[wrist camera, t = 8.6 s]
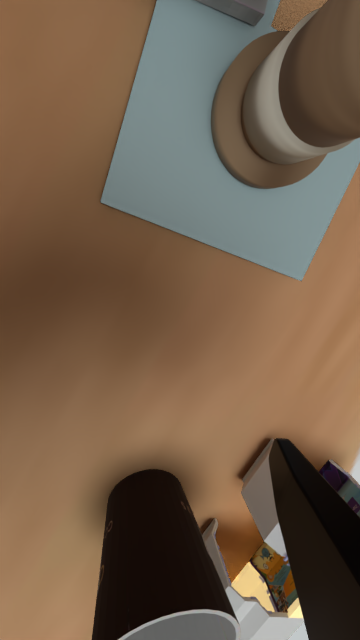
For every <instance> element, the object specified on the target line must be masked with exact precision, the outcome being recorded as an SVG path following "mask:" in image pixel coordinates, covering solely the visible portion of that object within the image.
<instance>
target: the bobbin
mask: <svg viewBox="0 0 360 640" xmlns="http://www.w3.org/2000/svg"><path fill="white" fill-rule="evenodd" d="M211 132H212V138H213V142H214V146H215V149H216V151H217V154H218V156H219V158H220V160H221V162H222V164H223V165H224V166H225V168H226V169H227V170H228V172H229V173H230V174H231V175H232V176H233V177H235V178H236V179H237V180H239V181H240V182H242V183H244V184H245V185H248V186H250V187H254V188H258V189H272V188H278V187H284V186H288V185H291V184H294V183H296V182H299V181H300V180H302V179H304V178H305V177H307V176H308V175H309V174H311V173H312V172H313V171H314V170H315V169H316V168H317V167H318V166H319V165H320V163H321V162H322V161H323V160H324V158H325V157H326V155H327V154H328V153H330V152H334V151H337V150H339V149H341V148H343V147H345V146H347V145H349V144H350V143H351V142H353V141H354V140H355V139H357V138H360V0H328V1H327V2H326V3H325V4H324V5H323V6H322V7H321V8H319V9H316V10H314V11H313V12H311V13H309V14H308V15H306V16H305V17H304V18H303V19H302V20H300V21H299V23H298V24H297V25H296V26H295V27H294V28H293V29H292V30H291V31H276V32H271V33H268V34H265V35H262V36H260V37H258V38H257V39H255V40H253V41H252V42H251V43H249V44H248V45H247V46H246V47H245V48H244V49H243V50H242V51H241V52H240V53H239V54H238V55H237V57H236V58H235V59H234V61H233V62H232V63H231V65H230V66H229V68H228V69H227V70H226V72H225V73H224V75H223V77H222V78H221V80H220V82H219V84H218V87H217V89H216V92H215V95H214V99H213V104H212V110H211Z"/></svg>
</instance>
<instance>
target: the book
mask: <svg viewBox="0 0 360 640" xmlns="http://www.w3.org/2000/svg"><path fill="white" fill-rule="evenodd" d="M196 1H198V2H201V3H203V4H205V5H207V6H210V7H212V8H214V9H217V10H219V11H221V12H224V13H226V14H228V15H231V16H233V17H235V18H238V19H240V20H242V21H245V22H247V23H249V24H252V25H254V26H256V25H257V23H258V22H259V21H260V19H261V18H262V17H263V15H264V14H265V10H266V5H267V1H268V0H196Z"/></svg>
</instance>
